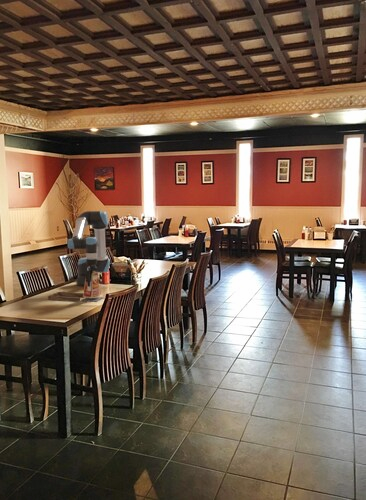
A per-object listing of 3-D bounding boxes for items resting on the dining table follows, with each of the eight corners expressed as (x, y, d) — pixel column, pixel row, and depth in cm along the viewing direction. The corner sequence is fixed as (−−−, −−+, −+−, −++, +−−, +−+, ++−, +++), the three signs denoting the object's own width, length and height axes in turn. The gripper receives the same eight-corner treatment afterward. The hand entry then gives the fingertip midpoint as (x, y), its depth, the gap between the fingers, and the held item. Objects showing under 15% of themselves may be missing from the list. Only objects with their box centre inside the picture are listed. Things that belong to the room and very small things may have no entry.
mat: (88, 297, 315) (88, 296, 315) (103, 298, 313) (103, 297, 313) (81, 300, 304) (81, 300, 304) (96, 301, 301) (96, 301, 301)
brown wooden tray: (58, 295, 322) (58, 291, 322) (88, 296, 317) (88, 293, 317) (48, 299, 307) (48, 296, 307) (79, 301, 302) (79, 297, 302)
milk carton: (83, 297, 306) (82, 270, 304) (91, 294, 314) (90, 268, 312) (93, 298, 302) (92, 271, 299) (101, 296, 310) (100, 269, 308)
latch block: (96, 293, 327) (96, 285, 327) (101, 294, 327) (101, 285, 326) (91, 296, 318) (91, 287, 317) (96, 297, 317) (96, 287, 316)
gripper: (92, 256, 316) (93, 286, 318) (80, 260, 295) (80, 292, 298) (102, 256, 314) (102, 286, 317) (90, 260, 294) (90, 292, 296)
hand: (92, 289), depth 307 cm, fingers closed on milk carton, 8 cm apart
